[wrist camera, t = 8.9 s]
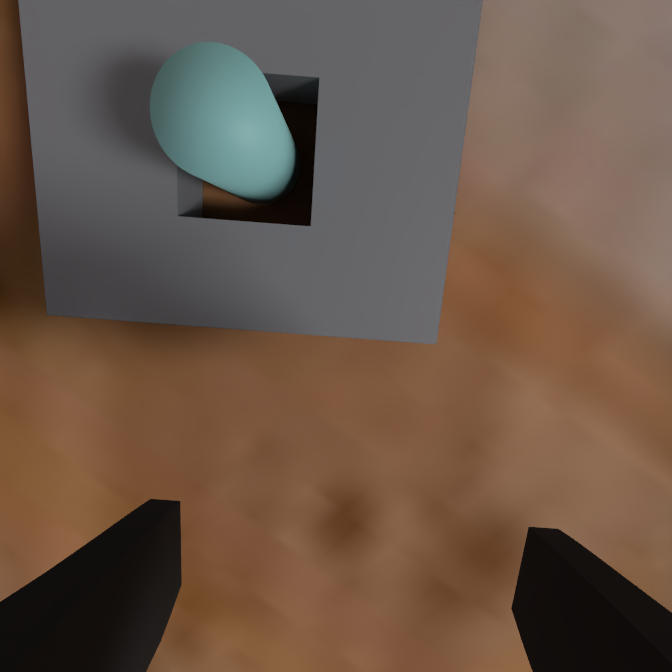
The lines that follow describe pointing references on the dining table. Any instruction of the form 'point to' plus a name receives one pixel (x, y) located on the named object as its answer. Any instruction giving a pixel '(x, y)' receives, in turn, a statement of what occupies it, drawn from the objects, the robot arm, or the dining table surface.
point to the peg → (224, 123)
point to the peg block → (187, 190)
